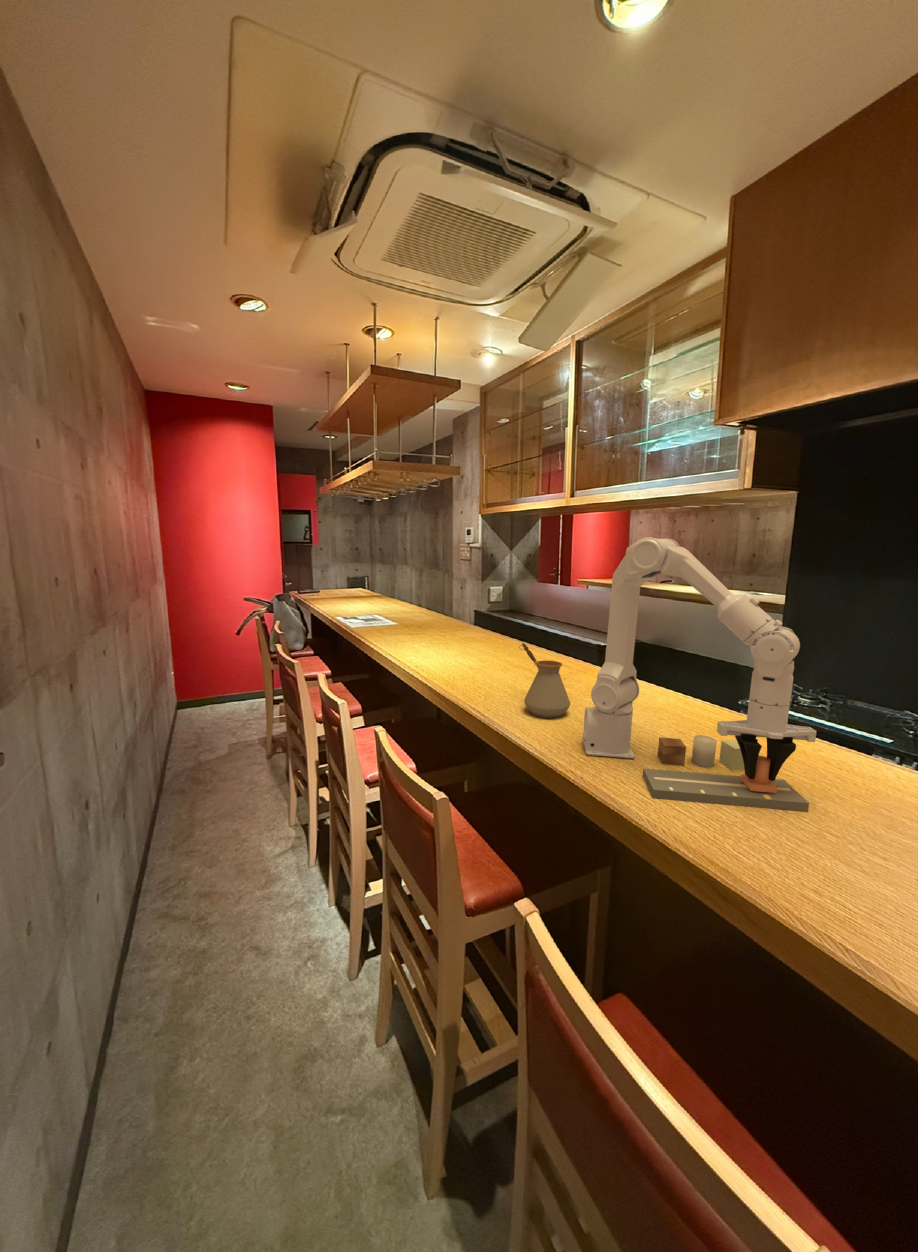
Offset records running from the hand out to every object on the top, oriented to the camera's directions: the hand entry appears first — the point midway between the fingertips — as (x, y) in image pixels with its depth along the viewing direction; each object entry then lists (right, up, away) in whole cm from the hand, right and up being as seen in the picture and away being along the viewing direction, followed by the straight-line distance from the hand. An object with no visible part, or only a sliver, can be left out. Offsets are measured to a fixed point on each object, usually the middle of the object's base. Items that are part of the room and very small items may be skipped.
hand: (759, 777), depth 83 cm
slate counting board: (-6, -3, +1) cm, 7 cm away
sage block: (+3, -2, +12) cm, 13 cm away
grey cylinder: (-3, -1, +13) cm, 13 cm away
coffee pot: (-31, +4, +45) cm, 55 cm away
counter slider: (0, -2, 0) cm, 2 cm away
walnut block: (-9, -1, +14) cm, 17 cm away
